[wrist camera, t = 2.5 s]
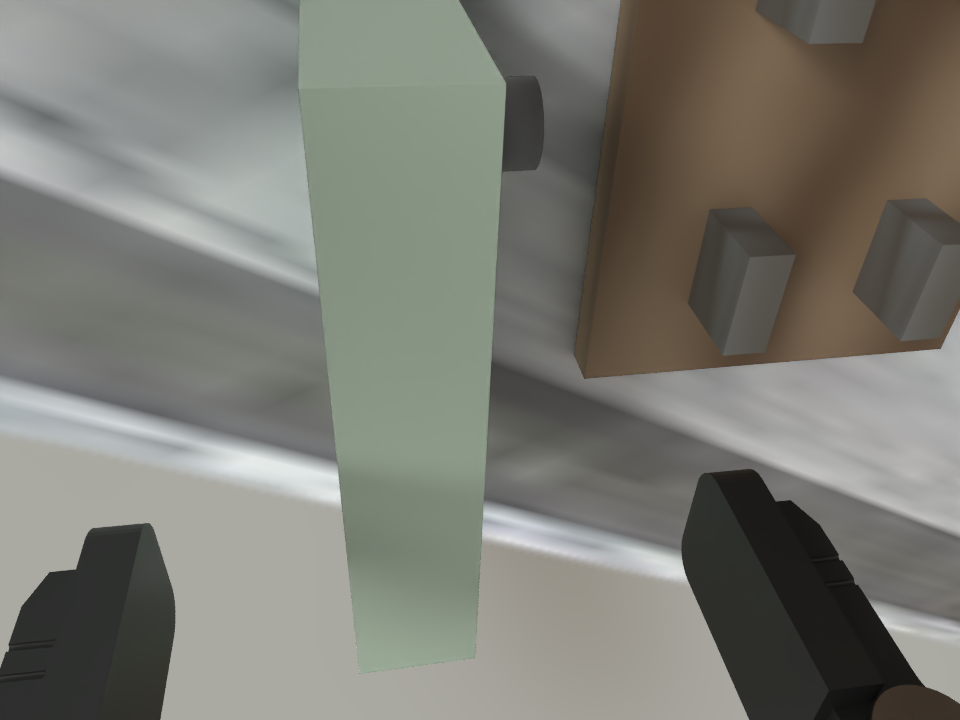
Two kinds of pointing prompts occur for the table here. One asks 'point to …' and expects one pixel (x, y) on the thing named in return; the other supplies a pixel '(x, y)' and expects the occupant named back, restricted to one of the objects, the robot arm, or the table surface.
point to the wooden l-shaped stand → (774, 185)
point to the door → (409, 299)
